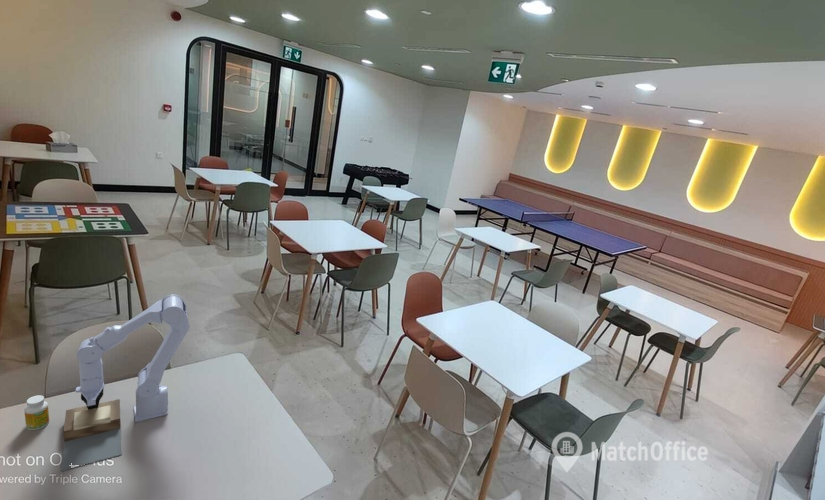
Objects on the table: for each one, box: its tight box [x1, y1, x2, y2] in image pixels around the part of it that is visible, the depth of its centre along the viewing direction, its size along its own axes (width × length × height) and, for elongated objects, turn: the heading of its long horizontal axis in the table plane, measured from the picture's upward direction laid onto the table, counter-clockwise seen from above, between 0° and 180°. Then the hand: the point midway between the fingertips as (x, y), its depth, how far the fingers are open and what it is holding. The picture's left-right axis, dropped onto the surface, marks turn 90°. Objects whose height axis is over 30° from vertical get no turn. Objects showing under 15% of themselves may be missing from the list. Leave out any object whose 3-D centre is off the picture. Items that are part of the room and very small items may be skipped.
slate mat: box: [60, 428, 122, 473], centre depth 121 cm, size 14×12×1 cm
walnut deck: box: [63, 398, 122, 443], centre depth 129 cm, size 14×10×4 cm
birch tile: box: [73, 405, 111, 430], centre depth 126 cm, size 9×6×2 cm, turn 126°
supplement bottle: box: [23, 394, 50, 431], centre depth 124 cm, size 5×5×10 cm
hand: (93, 409), depth 129 cm, fingers closed
